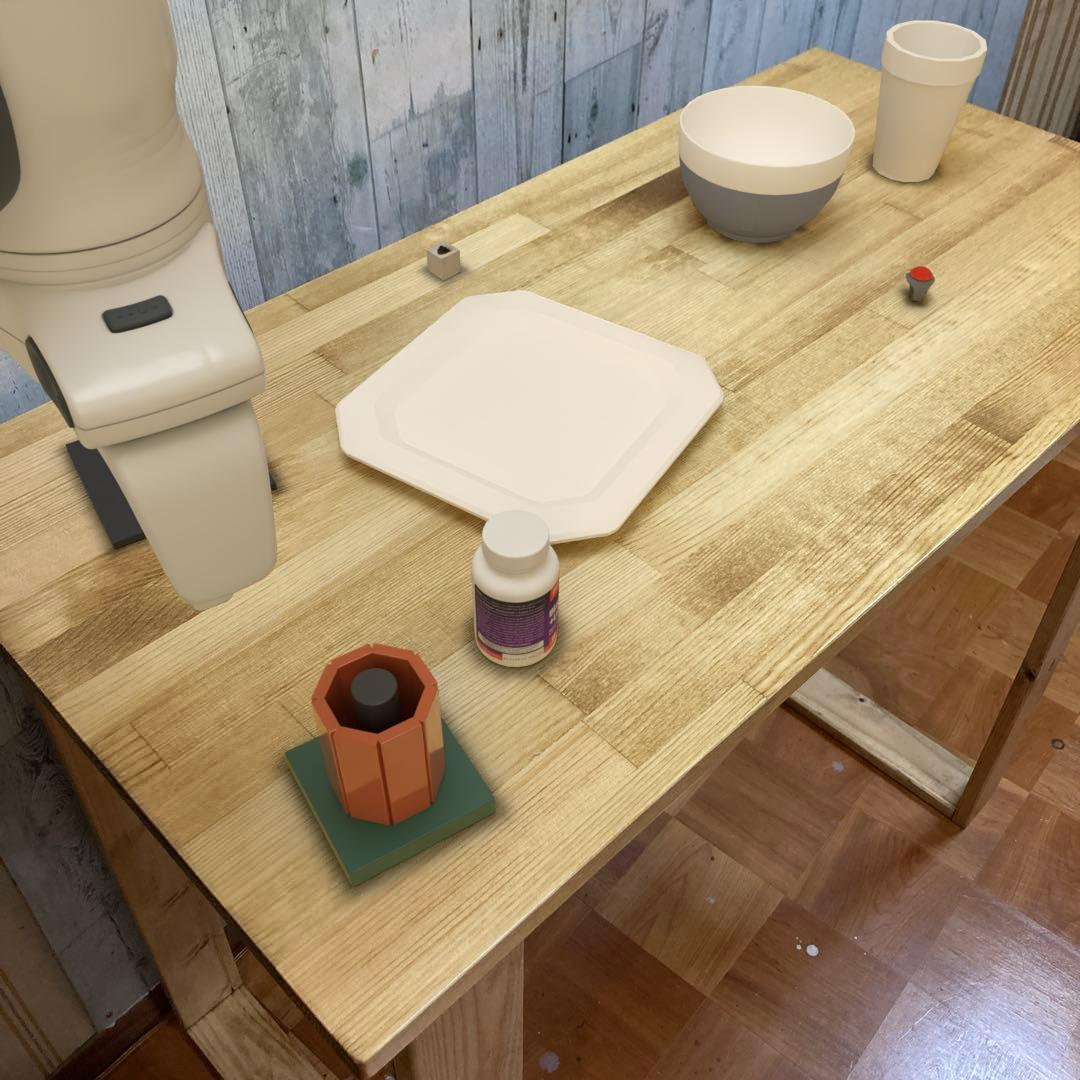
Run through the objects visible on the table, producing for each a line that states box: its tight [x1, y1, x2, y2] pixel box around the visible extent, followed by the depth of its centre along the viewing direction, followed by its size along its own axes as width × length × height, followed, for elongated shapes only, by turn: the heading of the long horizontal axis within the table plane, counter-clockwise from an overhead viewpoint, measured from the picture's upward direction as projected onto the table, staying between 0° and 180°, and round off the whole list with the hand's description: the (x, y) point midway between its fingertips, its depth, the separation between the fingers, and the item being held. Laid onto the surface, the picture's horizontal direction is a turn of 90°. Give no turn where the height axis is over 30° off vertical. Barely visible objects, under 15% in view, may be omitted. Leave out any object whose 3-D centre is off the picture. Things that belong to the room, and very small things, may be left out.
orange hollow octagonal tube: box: [310, 642, 446, 826], centre depth 62 cm, size 6×6×8 cm
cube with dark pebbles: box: [426, 240, 462, 281], centre depth 102 cm, size 2×2×2 cm
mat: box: [65, 439, 277, 550], centre depth 84 cm, size 12×12×1 cm
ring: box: [905, 265, 936, 302], centre depth 100 cm, size 2×3×3 cm
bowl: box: [677, 85, 856, 244], centre depth 106 cm, size 16×16×10 cm
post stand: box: [284, 668, 496, 888], centre depth 62 cm, size 9×9×10 cm
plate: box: [334, 289, 725, 546], centre depth 88 cm, size 25×25×2 cm
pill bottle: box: [470, 510, 561, 668], centre depth 70 cm, size 5×5×10 cm
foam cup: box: [872, 20, 988, 183], centre depth 112 cm, size 10×9×13 cm
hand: (172, 528), depth 51 cm, fingers open, 8 cm apart
